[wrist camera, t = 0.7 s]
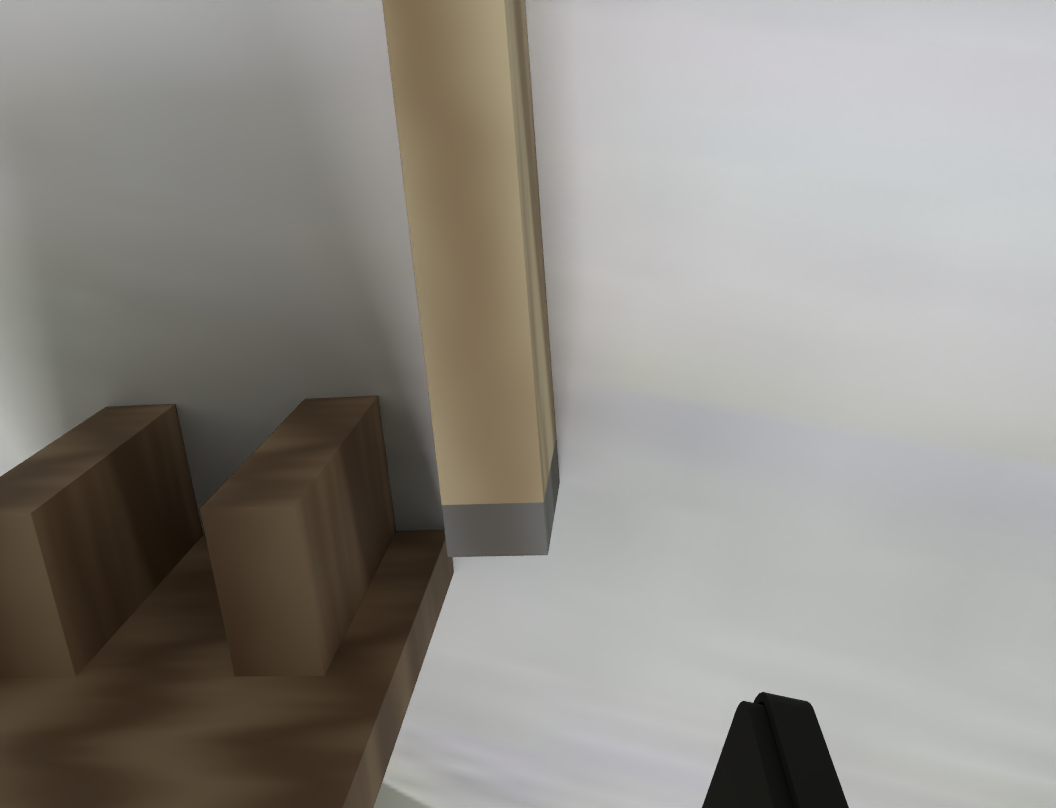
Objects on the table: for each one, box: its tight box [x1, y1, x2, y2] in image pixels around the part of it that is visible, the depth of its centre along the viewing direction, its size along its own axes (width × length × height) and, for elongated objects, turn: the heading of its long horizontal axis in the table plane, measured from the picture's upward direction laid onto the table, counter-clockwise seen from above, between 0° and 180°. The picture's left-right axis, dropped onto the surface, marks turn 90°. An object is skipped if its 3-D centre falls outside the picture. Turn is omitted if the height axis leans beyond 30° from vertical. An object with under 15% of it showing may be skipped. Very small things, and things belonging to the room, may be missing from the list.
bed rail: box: [382, 0, 560, 557], centre depth 32 cm, size 4×22×6 cm, turn 4°
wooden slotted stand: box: [0, 396, 454, 808], centre depth 32 cm, size 16×8×16 cm, turn 94°
